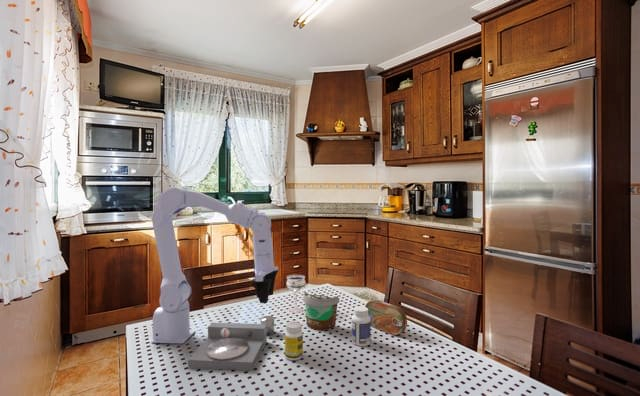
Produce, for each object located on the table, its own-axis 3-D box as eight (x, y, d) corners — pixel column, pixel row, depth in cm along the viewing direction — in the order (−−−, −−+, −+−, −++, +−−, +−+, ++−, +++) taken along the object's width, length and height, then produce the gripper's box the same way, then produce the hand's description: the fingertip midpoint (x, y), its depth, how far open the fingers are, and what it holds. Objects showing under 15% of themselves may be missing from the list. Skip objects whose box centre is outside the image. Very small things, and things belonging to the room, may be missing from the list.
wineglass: (296, 305, 123) (296, 273, 123) (309, 310, 118) (309, 277, 118) (282, 310, 118) (282, 277, 118) (295, 315, 113) (295, 280, 113)
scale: (188, 367, 80) (187, 347, 80) (212, 339, 95) (212, 322, 95) (252, 370, 79) (252, 350, 79) (266, 341, 94) (266, 324, 94)
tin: (363, 323, 107) (363, 298, 107) (369, 321, 109) (370, 295, 109) (402, 339, 95) (402, 311, 95) (408, 336, 97) (409, 308, 97)
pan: (199, 359, 80) (199, 356, 80) (215, 339, 91) (215, 337, 91) (241, 361, 79) (241, 358, 79) (252, 341, 90) (252, 338, 90)
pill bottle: (372, 340, 95) (372, 307, 95) (367, 348, 90) (367, 313, 90) (354, 336, 97) (355, 304, 97) (348, 344, 92) (349, 310, 92)
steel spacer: (259, 335, 98) (259, 320, 98) (262, 329, 102) (262, 315, 102) (272, 336, 97) (272, 321, 97) (275, 330, 101) (275, 316, 101)
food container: (296, 328, 103) (296, 296, 103) (304, 320, 109) (304, 290, 108) (333, 334, 98) (333, 301, 98) (339, 326, 104) (339, 295, 104)
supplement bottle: (300, 361, 83) (300, 329, 83) (282, 359, 84) (282, 327, 84) (304, 352, 88) (304, 321, 88) (287, 350, 89) (287, 320, 88)
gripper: (271, 258, 91) (275, 306, 91) (281, 248, 105) (284, 289, 106) (246, 259, 91) (250, 307, 92) (259, 249, 106) (262, 290, 106)
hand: (266, 298), depth 99 cm, fingers open, 7 cm apart
